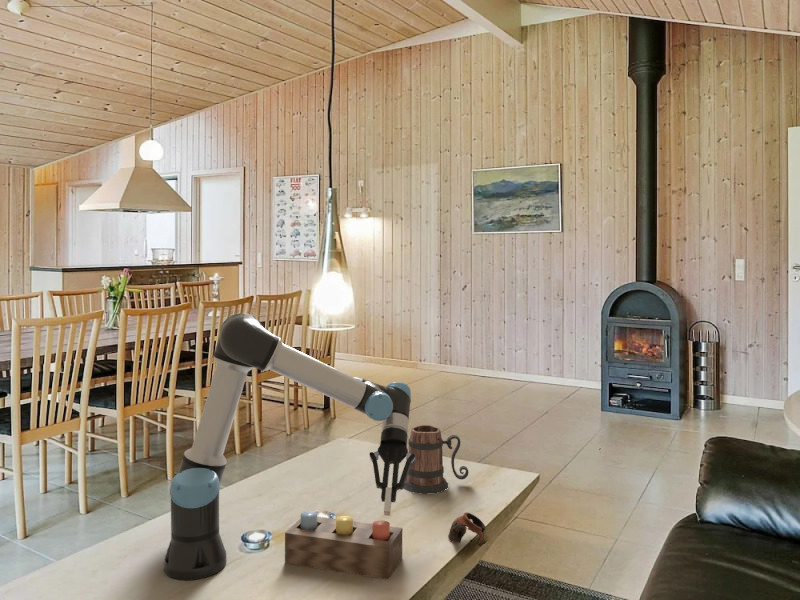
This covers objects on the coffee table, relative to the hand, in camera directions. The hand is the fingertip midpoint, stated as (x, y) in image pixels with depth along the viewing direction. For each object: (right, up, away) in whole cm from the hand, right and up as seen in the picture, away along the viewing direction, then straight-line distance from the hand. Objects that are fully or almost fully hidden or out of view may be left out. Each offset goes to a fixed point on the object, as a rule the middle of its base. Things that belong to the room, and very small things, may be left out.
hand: (387, 513), depth 164 cm
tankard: (+15, -9, +56) cm, 59 cm away
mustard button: (-11, -6, 0) cm, 12 cm away
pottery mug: (+21, -12, +12) cm, 28 cm away
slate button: (-21, -6, +3) cm, 22 cm away
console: (-11, -12, 0) cm, 17 cm away
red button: (-1, -6, -3) cm, 7 cm away
